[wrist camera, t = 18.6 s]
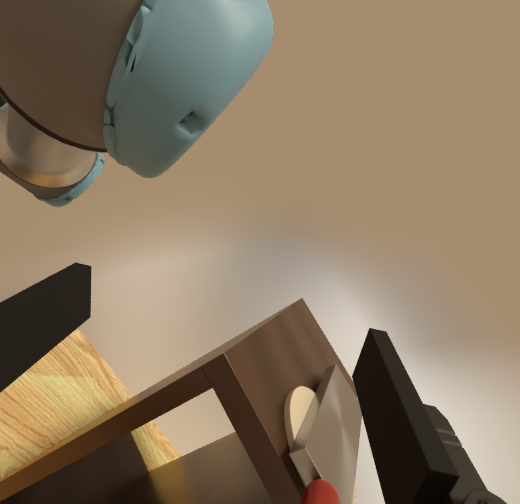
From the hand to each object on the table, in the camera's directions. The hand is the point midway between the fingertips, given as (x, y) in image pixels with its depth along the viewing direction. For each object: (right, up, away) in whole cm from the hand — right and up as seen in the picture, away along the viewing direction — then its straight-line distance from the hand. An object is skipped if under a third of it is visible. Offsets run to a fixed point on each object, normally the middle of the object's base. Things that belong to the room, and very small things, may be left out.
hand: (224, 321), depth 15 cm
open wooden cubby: (-23, -29, +27) cm, 46 cm away
